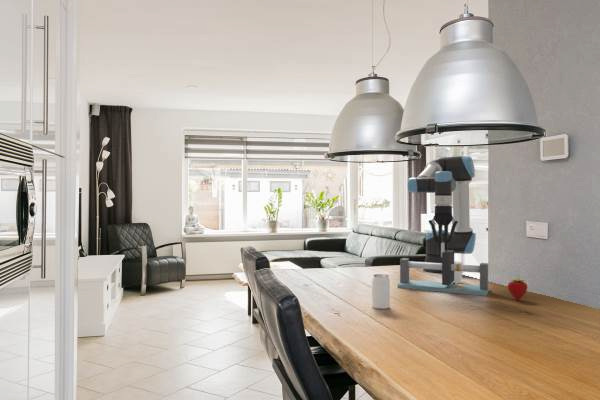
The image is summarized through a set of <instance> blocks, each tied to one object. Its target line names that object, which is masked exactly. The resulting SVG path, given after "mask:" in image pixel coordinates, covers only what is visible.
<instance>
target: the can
mask: <svg viewBox="0 0 600 400" xmlns="http://www.w3.org/2000/svg"><path fill="white" fill-rule="evenodd" d="M371 282H372V283H371V289H372V290H371V297H372V298H371V301H372V302H371V305H372V308H373V309H377V310H388V309H389V308H390V305H391V301H390V300H391V296H390V295H391V292H390V291H391V290H390V287H391V285H390V277H389V274H383V273H382V274H381V273H379V274H377V273H376V274H373V277H372V280H371Z"/></svg>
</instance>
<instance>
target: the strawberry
mask: <svg viewBox="0 0 600 400" xmlns="http://www.w3.org/2000/svg"><path fill="white" fill-rule="evenodd" d="M517 277H519V275H518V274H517ZM525 281H526V280H525V279H519V278H518V279H517V278H515V279H511V281H509V283H507V289H508V291H509V293H510V294H511V295H512V296H513V298H514V299H515V300H517V301H520V300H521V299H522V298H523V296H524V295H525V294H526V292H527V290H528V284H527V283H526V282H525Z"/></svg>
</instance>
